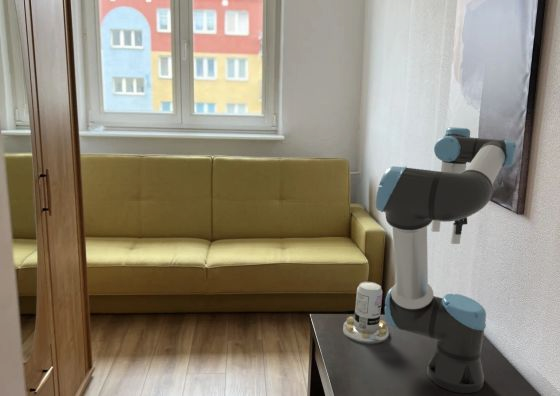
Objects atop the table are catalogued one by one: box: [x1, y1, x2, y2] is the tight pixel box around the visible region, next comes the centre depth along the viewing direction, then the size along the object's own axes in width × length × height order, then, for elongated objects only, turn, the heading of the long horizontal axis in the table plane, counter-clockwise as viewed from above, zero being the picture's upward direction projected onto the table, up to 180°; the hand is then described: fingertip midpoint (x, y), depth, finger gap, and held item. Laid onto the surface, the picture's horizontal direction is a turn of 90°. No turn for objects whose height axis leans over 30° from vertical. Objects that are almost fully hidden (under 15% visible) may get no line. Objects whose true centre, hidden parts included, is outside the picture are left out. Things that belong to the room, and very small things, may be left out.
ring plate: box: [342, 315, 390, 345], centre depth 161 cm, size 15×15×3 cm
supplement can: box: [354, 281, 383, 333], centre depth 160 cm, size 8×8×15 cm
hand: (444, 237), depth 163 cm, fingers open, 13 cm apart
